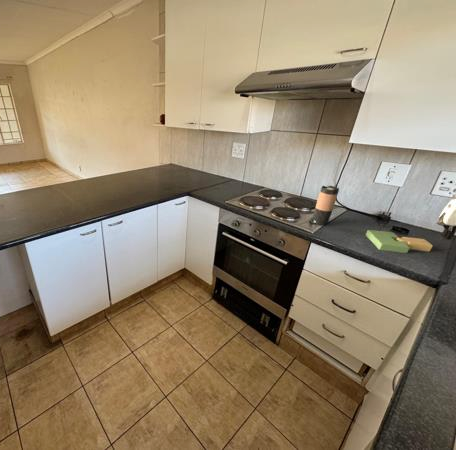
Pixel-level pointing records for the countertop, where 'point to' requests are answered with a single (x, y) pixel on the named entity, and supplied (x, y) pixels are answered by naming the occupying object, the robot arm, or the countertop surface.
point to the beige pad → (416, 243)
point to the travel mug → (325, 204)
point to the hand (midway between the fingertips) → (445, 238)
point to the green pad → (387, 241)
